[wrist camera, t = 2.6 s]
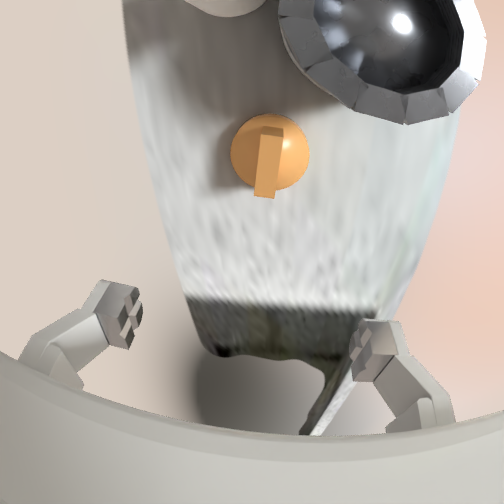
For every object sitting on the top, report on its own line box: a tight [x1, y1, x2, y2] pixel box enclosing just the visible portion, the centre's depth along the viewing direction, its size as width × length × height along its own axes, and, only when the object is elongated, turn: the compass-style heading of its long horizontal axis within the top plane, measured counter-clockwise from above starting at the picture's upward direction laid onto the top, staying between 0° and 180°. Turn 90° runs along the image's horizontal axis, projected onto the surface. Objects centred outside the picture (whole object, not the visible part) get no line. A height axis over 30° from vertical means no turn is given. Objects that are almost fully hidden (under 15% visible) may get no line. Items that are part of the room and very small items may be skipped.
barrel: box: [278, 0, 486, 125], centre depth 14 cm, size 12×12×10 cm
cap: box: [230, 114, 309, 199], centre depth 23 cm, size 7×7×5 cm
